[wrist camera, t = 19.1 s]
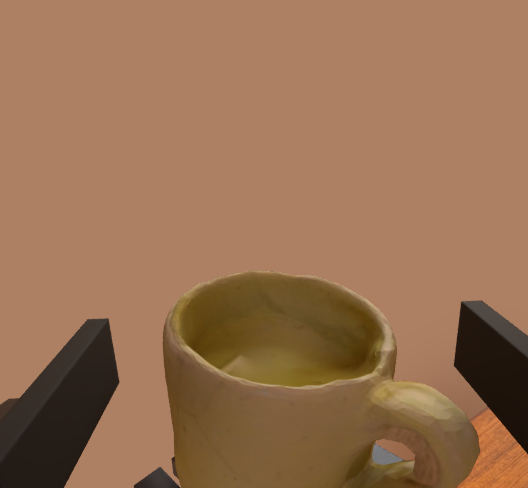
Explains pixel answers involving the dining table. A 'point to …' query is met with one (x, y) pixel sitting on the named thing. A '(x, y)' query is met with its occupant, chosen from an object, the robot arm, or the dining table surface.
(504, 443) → the dining table surface
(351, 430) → the mug
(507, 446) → the dining table surface
